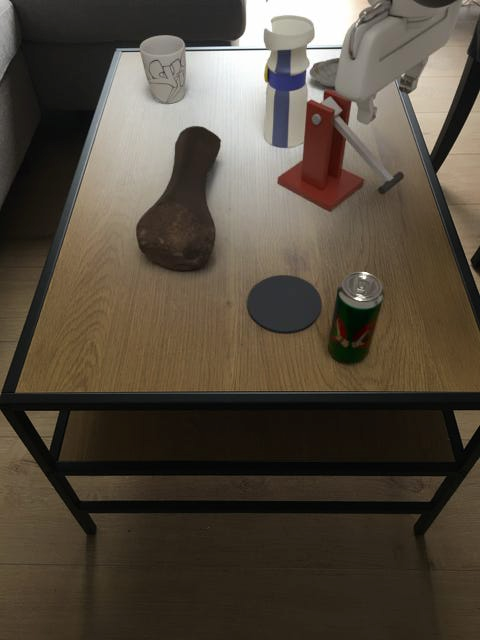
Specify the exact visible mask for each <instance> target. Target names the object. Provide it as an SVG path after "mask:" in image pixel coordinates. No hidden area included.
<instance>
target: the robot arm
mask: <svg viewBox="0 0 480 640" xmlns="http://www.w3.org/2000/svg"><path fill="white" fill-rule="evenodd" d="M463 2H464V0H367V3H368V4H369V5H370V6H368V7H365V8H363V9H362V10H361V11H360V12H359V14H358V18H357V20H356V21H355V22H353V23H352V24H351V25H350V27H349V28H348V29H347V31H346V34H345V36H344V38H343V42H342V45H341V50H340V54H339V58H340V59H339V64H338V69H337V74H336V80H335V87H334V89H335V90H334V91H335V92H337V94H338V95H339V96H341V97H343V98H345V99H347V100H350V101H352V103H355V104H356V106H357V114H356V121H357V122H358V123H361V124H363V125H366V126H367V125H369V124H370V123H372V122H373V121H374V120H376V116H377V115H376V114H377V113H378V112H377V111H378V107H377V106H374V100H375V99H376V98H377V93H379V92H381V91H382V90H383V89H384V88H386V87H387V86H389V85H390V84H392V83H393V82H394V81H396V80H398V79H399V78H400V80H399V85H398V90H399V92H401V93H404V94H406V95H409V94H411V93H412V92H415V90H416V89H417V87H418V84H419V79H420V77H421V75H422V73H423V71H424V69H425V68H426V65H427V64H428V62H429V59H430V56H431V55H433V54H435V53H436V52H437V51H439V50H440V49H442V48H443V47H445V46H446V44H447V43H448V41H449V40H450V38H451V37H452V34H453V33H454V30H455V28H456V25H457V21H458V18H459V15H460V12H461V9H462V6H463Z"/></svg>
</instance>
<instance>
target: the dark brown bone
mask: <svg viewBox="0 0 480 640" xmlns="http://www.w3.org/2000/svg"><path fill="white" fill-rule="evenodd" d="M221 142H222V139H221V138H220V137H219V136H218V135H217V134H216V133H215V132H213V131H211V130H209V129H208V128H206V127H205V126H199V125H192V126H187V127H186V128H185V129H182V131H180V132H179V135H178V136H177V139H176V141H175V143H174V158H173V166H172V172H171V174H170V178H169V180H168V184H167V186H166V188H165V189H164V191H163V192H162V194H161V195H160V197H159V198H158V199H157V200H156V202H155V203H154V204H153V205H152V206H151V207H149V209H147V210H146V212H144V214H143V215H142V216H141V217H140V218H139V220H138V222H137V224H136V227H135V235H136V236H135V237H136V241H137V246H138V248H139V251H140V252H141V253H142V254H143V255H144V256H145V257H146V258H147V259H148V260H149V261H151V262H153V263H155V264H157V265H159V266H161V267H163V268H166V269H169V270H173V271H174V270H175V271H180V272H181V271H192V270H197V269H199V268H202V267H204V266H206V265H207V264H208V262H209V260H210V258H211V256H212V254H213V252H214V251H213V250H214V247H215V243H216V237H217V235H216V233H217V231H216V230H217V229H216V225H215V222H214V219H213V216H212V214H211V211H210V209H209V206H208V201H207V180H208V176H209V173H210V171H211V169H212V168H213V166H214V164H215V163H216V160H217V158H218V155H219V153H220V150H221V147H222V146H221Z"/></svg>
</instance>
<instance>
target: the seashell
mask: <svg viewBox="0 0 480 640" xmlns="http://www.w3.org/2000/svg"><path fill="white" fill-rule="evenodd" d="M339 59H340V57H335V58H334V57H333V58H330V59H326V60H322V61H318V62H315V63H313V65H312V67H311V69H310V70H309V75H310V77H311V78H312V79H313V80H314V81H316V82H319V83H320V84H321V85H322V86H323V85H324V86H327V87H334V88H335V80H336V74H337V69H338V64H339Z"/></svg>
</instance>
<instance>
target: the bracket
mask: <svg viewBox="0 0 480 640" xmlns="http://www.w3.org/2000/svg"><path fill="white" fill-rule="evenodd" d="M328 97H331V98H332V99H333V100H334V101H335V102H336V103H337V104H338V106H339V107H340V108H341V109H342V110H343V111H342V112H341V113H340V115H339V117H340V118H341V119H342V120H343V121H344V122H345V123H346V125H347V126H348V127H349V123H350V116H351V108H352V103H353V102H352V101H350V100H347V99H345V98H343V97H341V96H339V95H338V94H337V92H336V90H332V89H330V88H326V89H324V91H323V98H322V101H324V100H325V99H327V98H328ZM334 115H335V109H332V108H330V107H328V106H325V105H323V104H321V102H318V101H316V100H314V99H312V98H311V99H309V100H307V108H306V121H305V134H304V142H303V147H302V148H303V149H302V150H303V151H302V160H300V161H299V162H297V163H296V164H295V165H294V166H292V167H290V168H289V169H288V170H286V171H285V172H283V173H282V174H280V175H279V176H277V184H278V185H280V186H282V187H283V188H286V189H287V190H289V191H291V192H293V193H295V194H296V195H298V196H300V197H302V198H304V199H305V200H307V201H309V202H311V203H313V204H315V205H317V206H318V207H321V208H322V209H324V210H326V211H328V212H332V211H334V209H336V208H337V207H339V205H341V204H342V203H343V202H344V201H346V200H347V199H348V198H350V197H351V196H352V195H353V194H354V193H356V192H357V191H359V189H361V188H362V187H364V183H365V179H364V178H363V177H360V176H358V175H356V174H354V173H352V172H350V171H348V170H346V169H344V168H343V164H344V157H345V149H346V143H347V140H346V139H345V138H344V137H343V136H342V134H341V133H340V132H339V131H338V130H337V129H336V128H335V127H334V125H333V123H334Z"/></svg>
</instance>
